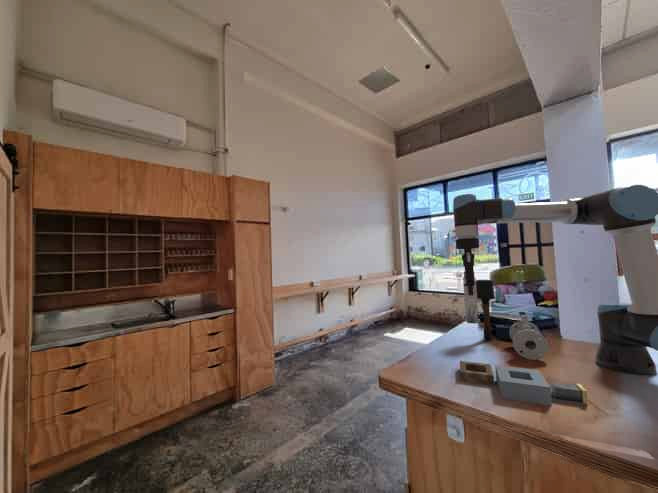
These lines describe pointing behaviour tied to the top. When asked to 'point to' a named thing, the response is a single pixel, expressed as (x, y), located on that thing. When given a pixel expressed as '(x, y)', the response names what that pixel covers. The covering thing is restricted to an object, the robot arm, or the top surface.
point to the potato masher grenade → (485, 303)
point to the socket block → (525, 385)
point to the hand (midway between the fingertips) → (471, 303)
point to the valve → (528, 339)
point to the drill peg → (470, 310)
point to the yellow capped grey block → (569, 392)
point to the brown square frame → (476, 372)
